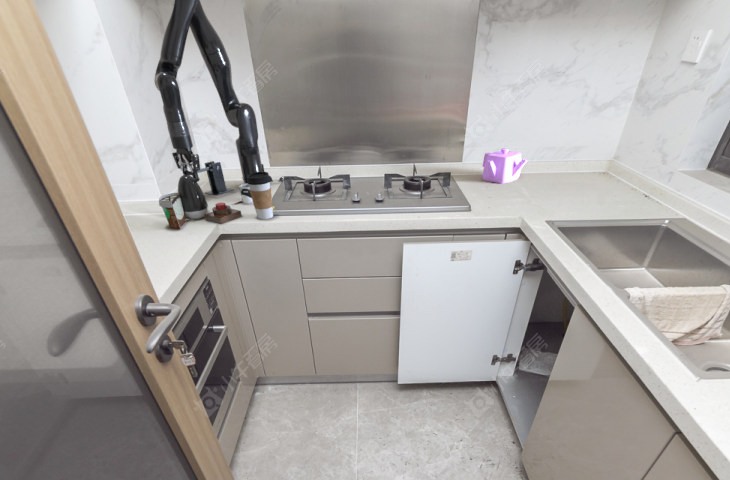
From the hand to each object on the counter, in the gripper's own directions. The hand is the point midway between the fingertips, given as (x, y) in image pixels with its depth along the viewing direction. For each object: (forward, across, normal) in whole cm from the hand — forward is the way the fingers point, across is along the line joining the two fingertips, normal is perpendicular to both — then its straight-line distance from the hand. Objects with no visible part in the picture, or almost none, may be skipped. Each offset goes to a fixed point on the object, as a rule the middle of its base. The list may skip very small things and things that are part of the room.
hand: (192, 180), depth 175 cm
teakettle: (+7, -102, -87) cm, 134 cm away
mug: (+8, -24, -10) cm, 27 cm away
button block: (+8, -29, +11) cm, 32 cm away
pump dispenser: (+9, -18, +15) cm, 25 cm away
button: (+5, -29, +11) cm, 31 cm away
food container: (+9, -19, +25) cm, 32 cm away
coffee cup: (+8, -42, +2) cm, 43 cm away
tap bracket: (+8, 0, -12) cm, 15 cm away
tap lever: (-2, 0, -6) cm, 7 cm away
